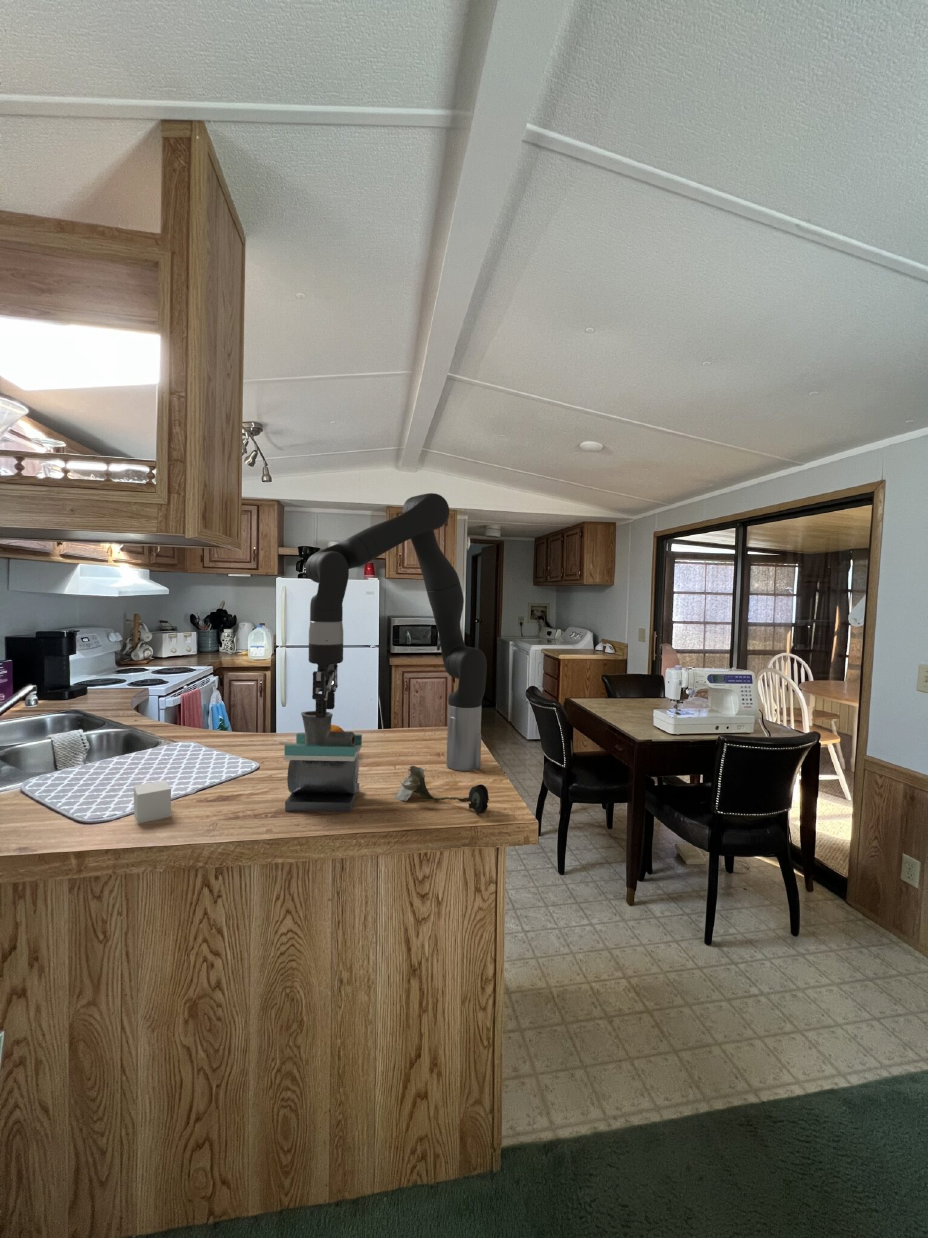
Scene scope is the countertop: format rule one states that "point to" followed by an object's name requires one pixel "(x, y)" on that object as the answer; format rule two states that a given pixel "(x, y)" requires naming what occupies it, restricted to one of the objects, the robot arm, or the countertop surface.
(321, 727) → the pipe
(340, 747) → the motor
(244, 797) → the countertop surface
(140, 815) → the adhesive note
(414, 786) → the artificial flower
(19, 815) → the countertop surface
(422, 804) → the countertop surface
